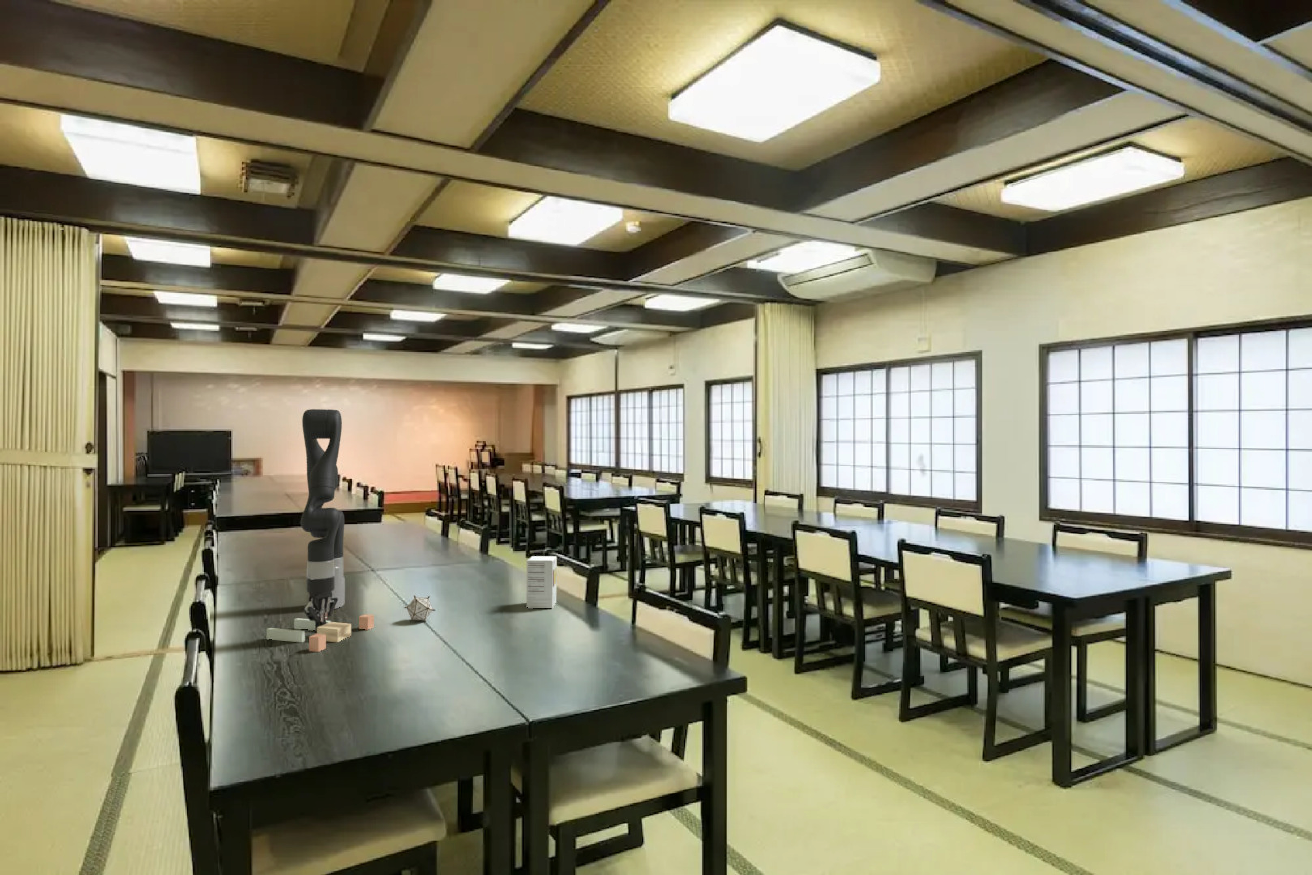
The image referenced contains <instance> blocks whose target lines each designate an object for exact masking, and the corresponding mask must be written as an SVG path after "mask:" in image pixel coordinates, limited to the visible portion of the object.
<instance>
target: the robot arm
mask: <svg viewBox="0 0 1312 875" xmlns="http://www.w3.org/2000/svg"><path fill="white" fill-rule="evenodd" d="M301 418H302V420H301V422H302V424H301V425H302V434H303V439H304V445H305V446H304V447H305V453H306V478H307V480H306V481H307V488H308V490H307V491H308V497H307V501H306V504H305V507H304V510H303V512H302V515H301V517H300V526H301V529H302V530H303V531H304V532H306V533H310V536H311V537H312V538H314V539H313V540H311V541H309V542H308V543H307V562H306V563H307V565H306V592H307V593H308V594H309V597H308V599H307V600H308V603H307V605H303V606H302V611H303V613H304V614H305V615H306V617H307V619H309V620H310V621H315V634H317V627H319V626H322V625H324V624H326V621H328V618H329V617H331V616H332V614H333V612H334V610H335V609H340V608H343V606H344V605H346V602H345V600H346V578H345V576H344V534H345V533H344V532H345V514H344V512H343V511H342V510H338V509H337V508H335V507H323V506H324V505H325V504H326V503H329V502H332V501H333V500H334V498H335V491H336V490H337V488H338V485H339V469H338V466H337V462H338V457H339V451H340V446H341V444H340V443H341V438H342V437H341V436H342V427H343V426H342V423H343V422H342V420H343V419H342V414H341V412H340V411H339V410H338V409H325V408H324V409H323V408H321V409H319V408H318V409H316V408H312V409H310V408H309V409H306V410H305V411H304V412H303V414H302V417H301ZM319 439H320V440H321V439H322V440H323V439H324V440H325V439H327V440H329V441H328V445H327V447H326V450H324V449H323V448H322V446H321V445H320V443H319ZM315 538H316V539H315ZM339 607H340V608H339Z"/></svg>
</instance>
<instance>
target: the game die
mask: <svg viewBox="0 0 1312 875" xmlns="http://www.w3.org/2000/svg"><path fill="white" fill-rule="evenodd" d="M429 598H430V595H428V596H427V597H416V595H413V599H412V600H411V601H410V603H409V604H408V605H407V606H404V607H403V609H406V610H407V612H408V615H409V617H410V620H409V622H410V623H411V621H424V623H425V622H427V621H426V620H427V618H428V617H429V616H430V614H432V612H433V611H434V612H435V611H436V609H435V608H434V609H433V606H432V604H431V602H430V601H431V600H430V599H429Z"/></svg>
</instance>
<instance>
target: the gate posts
mask: <svg viewBox="0 0 1312 875" xmlns="http://www.w3.org/2000/svg"><path fill="white" fill-rule="evenodd" d="M358 619H359V620H358V623H359V625H358V629H365V630H364V631H369V630H368V629H370V630H372V629H374V628H373V627H374V626H375V621H374V620H375V615H374V614H362V615H359V618H358ZM371 628H372V629H371ZM308 639H309V640H308V648H309V649H308V651H309V652H316V653H317V652H318V653H319V652H321V650H322V651H323V650H326V649H327V641H326V634H316V633H315V634H313V635H310V636H308Z"/></svg>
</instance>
